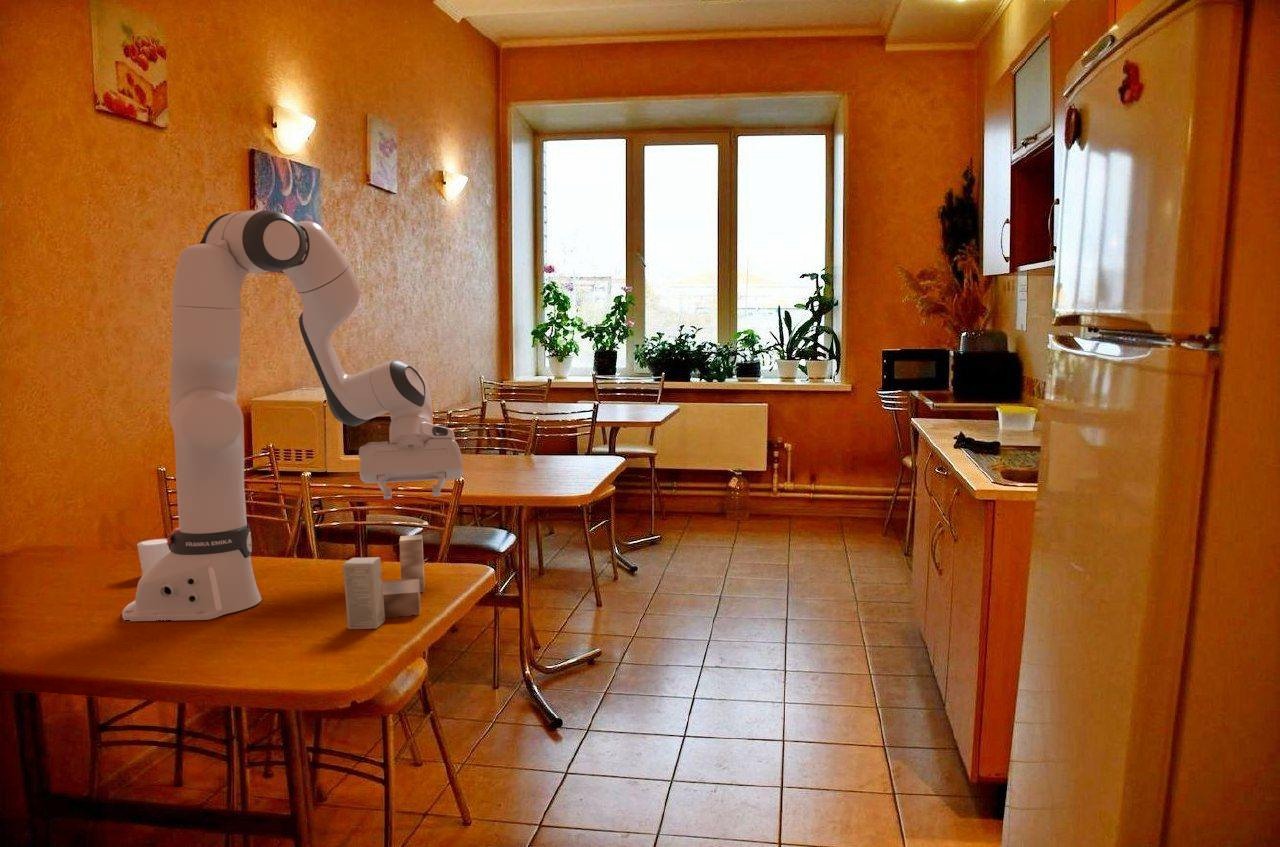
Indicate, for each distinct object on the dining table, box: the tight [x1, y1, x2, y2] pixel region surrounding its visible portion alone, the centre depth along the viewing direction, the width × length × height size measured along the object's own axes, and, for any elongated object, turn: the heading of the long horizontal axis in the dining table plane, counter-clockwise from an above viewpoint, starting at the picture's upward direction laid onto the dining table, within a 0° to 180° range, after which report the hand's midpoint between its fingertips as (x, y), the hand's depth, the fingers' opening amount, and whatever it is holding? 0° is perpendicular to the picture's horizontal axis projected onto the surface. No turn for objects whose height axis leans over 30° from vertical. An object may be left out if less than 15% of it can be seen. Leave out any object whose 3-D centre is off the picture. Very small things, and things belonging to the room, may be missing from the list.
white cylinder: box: [136, 537, 170, 576], centre depth 201 cm, size 7×7×7 cm
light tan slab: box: [382, 579, 422, 618], centre depth 174 cm, size 9×9×4 cm
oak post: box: [399, 534, 426, 593], centre depth 186 cm, size 4×4×10 cm
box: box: [342, 556, 386, 630], centre depth 165 cm, size 5×4×11 cm
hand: (412, 496), depth 197 cm, fingers open, 8 cm apart
